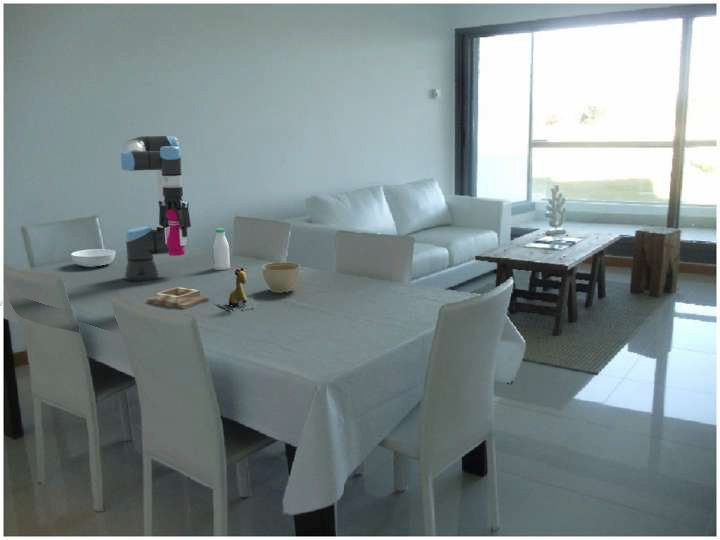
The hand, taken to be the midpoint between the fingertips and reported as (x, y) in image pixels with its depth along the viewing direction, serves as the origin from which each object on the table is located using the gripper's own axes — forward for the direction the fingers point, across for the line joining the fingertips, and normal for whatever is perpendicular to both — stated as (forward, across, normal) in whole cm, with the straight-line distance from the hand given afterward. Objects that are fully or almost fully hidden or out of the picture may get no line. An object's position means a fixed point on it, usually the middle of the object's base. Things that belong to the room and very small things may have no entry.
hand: (176, 244), depth 269 cm
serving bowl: (+23, -88, +32) cm, 96 cm away
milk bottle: (+23, -26, +56) cm, 66 cm away
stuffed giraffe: (+24, +25, +8) cm, 35 cm away
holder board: (+23, 0, -1) cm, 23 cm away
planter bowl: (+24, +26, +34) cm, 49 cm away
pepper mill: (+4, 0, 0) cm, 4 cm away
